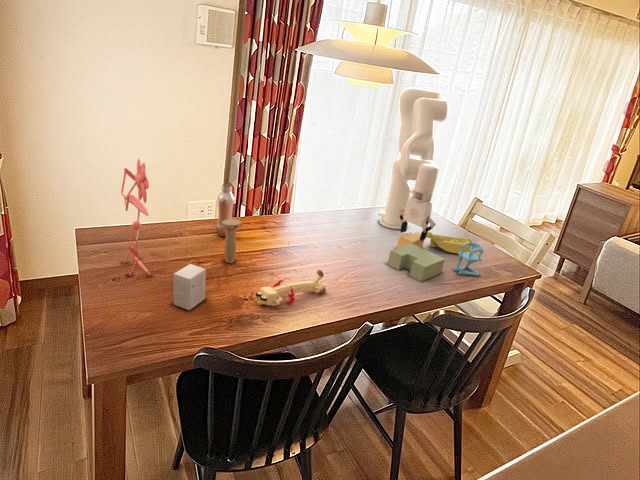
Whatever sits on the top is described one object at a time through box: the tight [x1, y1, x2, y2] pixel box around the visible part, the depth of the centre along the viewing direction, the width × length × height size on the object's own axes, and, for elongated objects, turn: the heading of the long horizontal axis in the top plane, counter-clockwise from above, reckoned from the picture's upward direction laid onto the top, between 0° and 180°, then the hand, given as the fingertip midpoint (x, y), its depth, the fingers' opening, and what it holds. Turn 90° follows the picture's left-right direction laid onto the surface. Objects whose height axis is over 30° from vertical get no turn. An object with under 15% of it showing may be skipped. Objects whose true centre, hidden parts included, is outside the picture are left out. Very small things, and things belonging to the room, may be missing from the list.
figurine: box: [120, 158, 172, 277], centre depth 148 cm, size 15×26×35 cm, turn 30°
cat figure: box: [254, 269, 327, 307], centre depth 150 cm, size 10×9×25 cm
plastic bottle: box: [215, 183, 235, 237], centre depth 183 cm, size 6×7×20 cm
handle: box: [222, 218, 242, 264], centre depth 165 cm, size 5×6×15 cm
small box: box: [173, 263, 207, 311], centre depth 139 cm, size 8×6×10 cm
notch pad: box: [387, 243, 446, 282], centre depth 184 cm, size 16×14×6 cm
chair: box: [454, 242, 484, 277], centre depth 187 cm, size 8×8×12 cm
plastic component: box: [426, 231, 472, 255], centre depth 208 cm, size 20×7×10 cm
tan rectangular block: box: [396, 231, 425, 249], centre depth 201 cm, size 7×12×6 cm, turn 135°
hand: (412, 236), depth 197 cm, fingers open, 9 cm apart
